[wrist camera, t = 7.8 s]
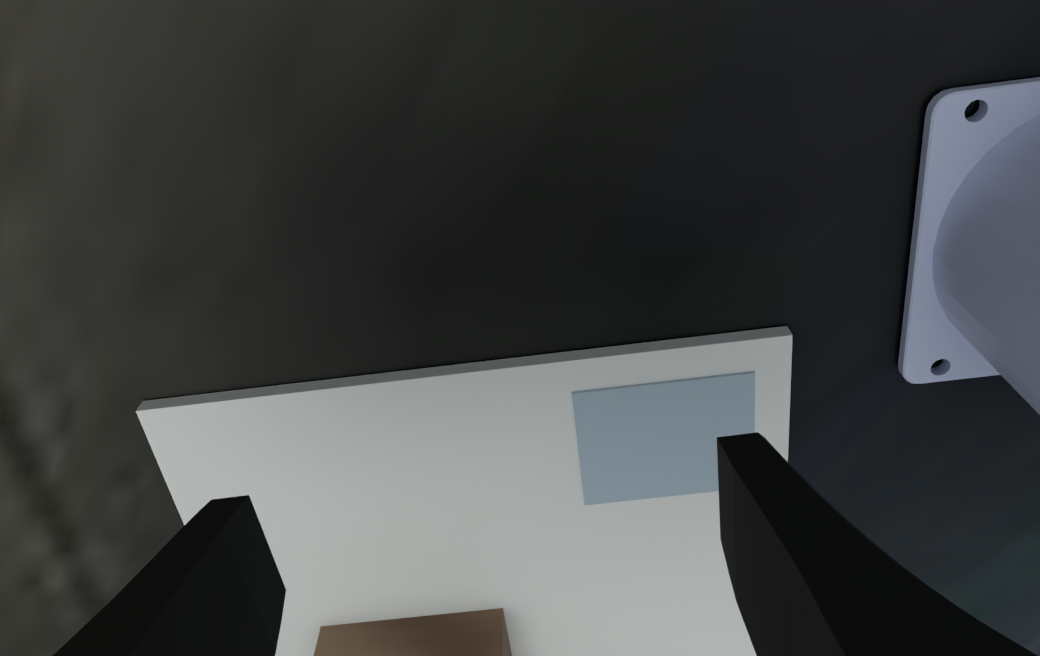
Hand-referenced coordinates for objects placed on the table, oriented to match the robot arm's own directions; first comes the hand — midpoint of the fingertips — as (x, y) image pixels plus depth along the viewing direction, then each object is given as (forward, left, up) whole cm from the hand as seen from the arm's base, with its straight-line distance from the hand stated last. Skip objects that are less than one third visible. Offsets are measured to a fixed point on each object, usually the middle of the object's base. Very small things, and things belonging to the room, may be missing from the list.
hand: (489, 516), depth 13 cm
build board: (+2, +11, -10) cm, 15 cm away
